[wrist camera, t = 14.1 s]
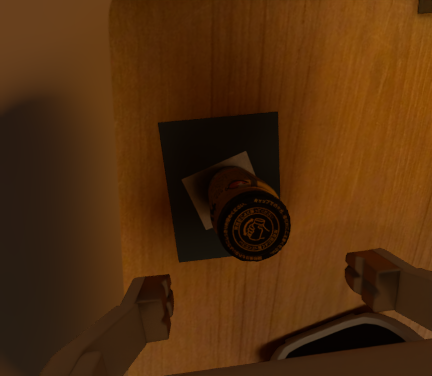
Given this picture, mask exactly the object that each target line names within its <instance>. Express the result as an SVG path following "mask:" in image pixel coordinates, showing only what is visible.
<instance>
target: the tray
mask: <svg viewBox="0 0 432 376" xmlns="http://www.w3.org/2000/svg"><path fill="white" fill-rule="evenodd" d="M431 12H432V0H420V1H419V11H418V13H431Z"/></svg>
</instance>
